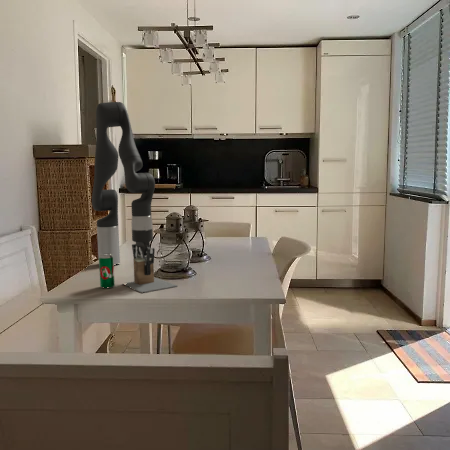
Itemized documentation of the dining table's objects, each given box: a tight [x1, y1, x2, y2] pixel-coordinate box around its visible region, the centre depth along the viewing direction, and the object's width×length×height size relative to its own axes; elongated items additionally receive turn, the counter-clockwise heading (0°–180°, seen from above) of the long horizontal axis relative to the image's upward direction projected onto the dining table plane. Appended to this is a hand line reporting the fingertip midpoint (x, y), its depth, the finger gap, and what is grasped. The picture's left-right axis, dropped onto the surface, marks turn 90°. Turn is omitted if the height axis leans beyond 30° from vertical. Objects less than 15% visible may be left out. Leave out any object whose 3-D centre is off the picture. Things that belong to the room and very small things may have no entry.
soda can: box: [98, 253, 116, 289], centre depth 172 cm, size 5×5×12 cm
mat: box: [126, 277, 178, 293], centre depth 174 cm, size 16×14×1 cm
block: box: [133, 258, 155, 285], centre depth 177 cm, size 4×6×9 cm, turn 126°
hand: (144, 273), depth 177 cm, fingers open, 5 cm apart
